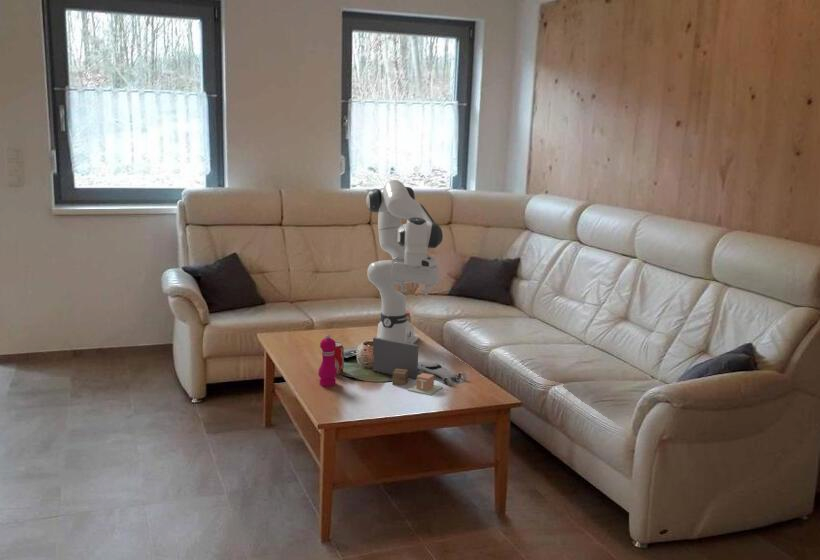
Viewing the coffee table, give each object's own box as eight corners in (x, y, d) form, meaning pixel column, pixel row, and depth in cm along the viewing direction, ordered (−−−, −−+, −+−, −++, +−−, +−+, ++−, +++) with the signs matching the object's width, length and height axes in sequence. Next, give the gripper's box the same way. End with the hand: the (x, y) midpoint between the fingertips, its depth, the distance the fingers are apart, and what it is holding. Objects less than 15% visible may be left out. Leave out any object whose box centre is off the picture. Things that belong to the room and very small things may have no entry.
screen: (377, 367, 321) (378, 335, 318) (420, 376, 312) (421, 343, 309) (372, 370, 317) (373, 338, 314) (415, 379, 308) (416, 346, 305)
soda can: (340, 375, 310) (341, 347, 307) (323, 374, 311) (324, 345, 309) (345, 370, 317) (346, 342, 314) (329, 368, 318) (329, 340, 316)
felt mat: (419, 382, 304) (419, 382, 304) (442, 387, 300) (442, 386, 300) (407, 390, 296) (407, 389, 296) (431, 395, 291) (431, 394, 291)
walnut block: (395, 380, 307) (395, 368, 306) (407, 381, 306) (408, 369, 305) (392, 384, 302) (392, 372, 301) (404, 385, 301) (405, 373, 300)
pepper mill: (315, 381, 302) (316, 332, 298) (333, 379, 305) (334, 331, 301) (321, 387, 296) (321, 337, 292) (339, 385, 299) (339, 336, 294)
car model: (450, 387, 301) (450, 375, 300) (406, 372, 318) (406, 360, 317) (468, 381, 309) (469, 369, 308) (424, 366, 326) (425, 355, 325)
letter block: (422, 385, 301) (422, 372, 300) (433, 387, 299) (434, 375, 298) (416, 388, 297) (416, 376, 296) (427, 391, 294) (428, 378, 293)
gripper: (388, 257, 305) (387, 291, 308) (435, 263, 296) (433, 298, 299) (396, 255, 311) (395, 288, 314) (442, 261, 302) (440, 295, 305)
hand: (414, 293), depth 307 cm, fingers open, 8 cm apart
